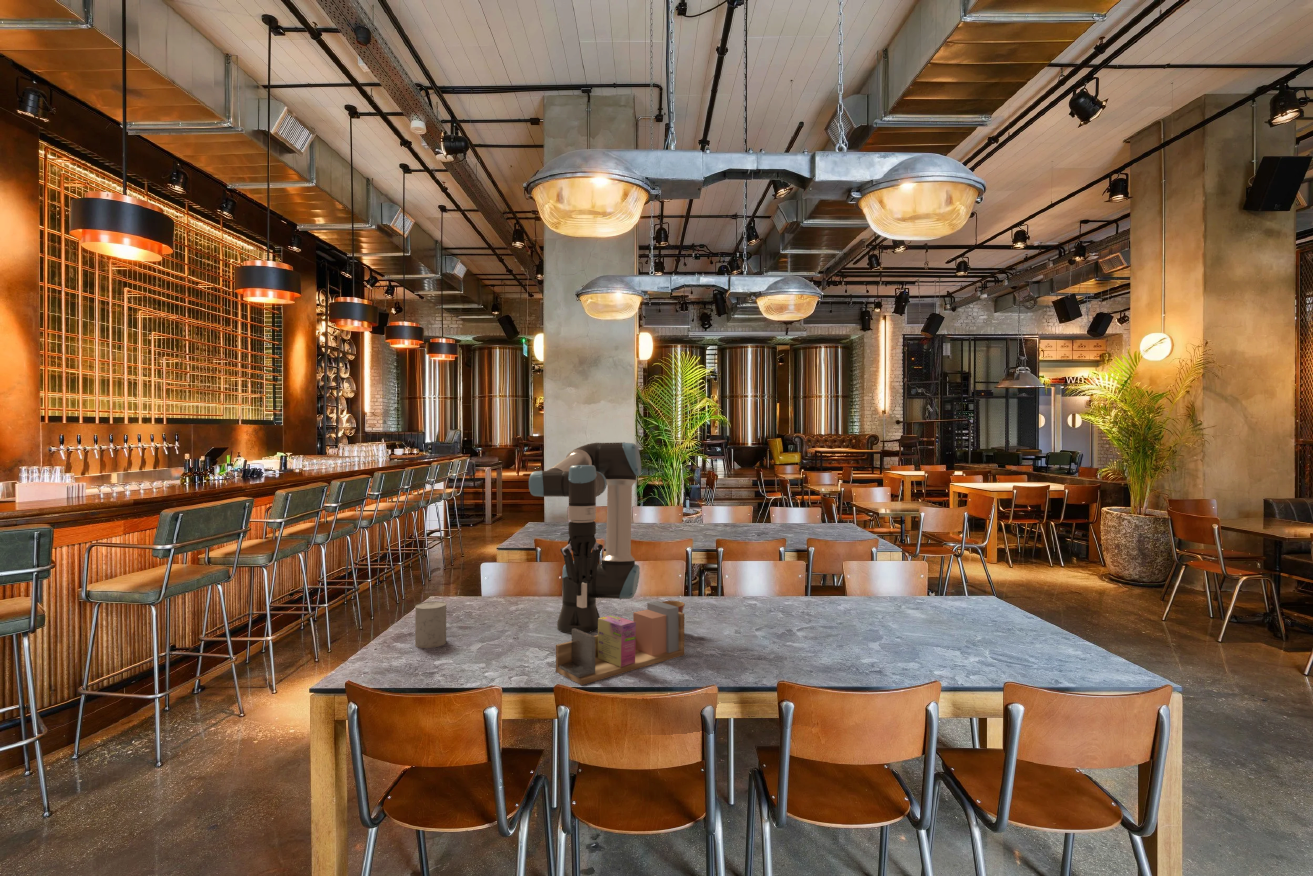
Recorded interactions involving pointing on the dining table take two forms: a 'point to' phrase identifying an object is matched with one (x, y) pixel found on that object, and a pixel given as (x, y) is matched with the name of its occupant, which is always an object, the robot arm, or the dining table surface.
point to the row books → (657, 629)
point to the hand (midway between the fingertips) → (581, 606)
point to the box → (616, 640)
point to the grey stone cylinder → (430, 624)
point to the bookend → (581, 655)
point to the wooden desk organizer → (608, 669)
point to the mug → (677, 604)
